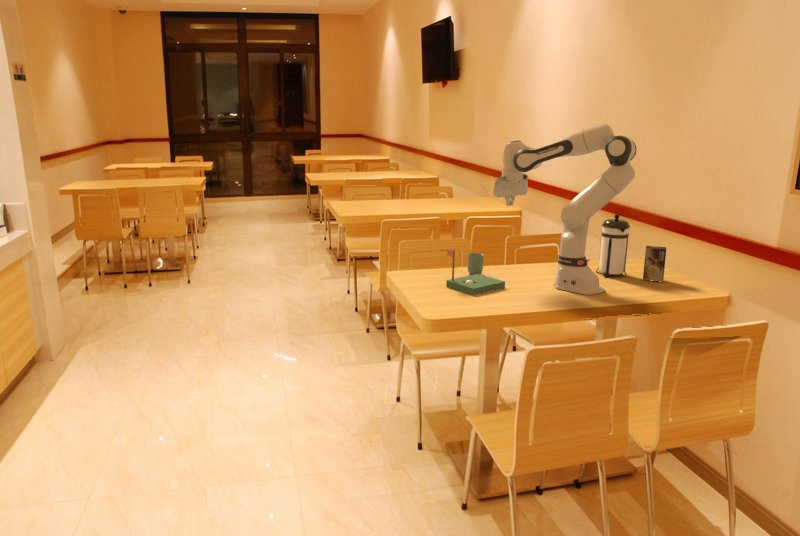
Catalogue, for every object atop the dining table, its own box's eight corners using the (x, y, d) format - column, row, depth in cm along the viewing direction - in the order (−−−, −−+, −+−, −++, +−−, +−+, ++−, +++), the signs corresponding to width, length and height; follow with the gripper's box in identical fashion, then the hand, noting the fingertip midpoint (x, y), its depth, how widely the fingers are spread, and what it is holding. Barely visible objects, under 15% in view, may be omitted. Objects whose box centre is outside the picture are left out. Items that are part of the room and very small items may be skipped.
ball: (469, 290, 273) (475, 288, 276) (468, 282, 272) (475, 280, 274) (462, 288, 276) (469, 286, 279) (462, 280, 275) (469, 277, 277)
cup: (482, 272, 304) (483, 253, 301) (483, 276, 296) (484, 256, 294) (466, 272, 304) (467, 252, 302) (466, 276, 297) (467, 256, 295)
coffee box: (663, 279, 295) (666, 246, 291) (663, 283, 290) (667, 249, 286) (642, 277, 299) (646, 245, 295) (642, 280, 293) (645, 247, 289)
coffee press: (632, 274, 305) (639, 214, 297) (619, 280, 293) (626, 217, 286) (599, 268, 316) (604, 210, 308) (585, 274, 304) (590, 213, 297)
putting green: (504, 287, 278) (506, 251, 274) (472, 295, 266) (474, 256, 262) (474, 278, 292) (475, 243, 288) (442, 285, 280) (443, 248, 276)
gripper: (500, 177, 279) (499, 208, 282) (530, 175, 291) (528, 204, 295) (490, 176, 284) (489, 206, 287) (520, 174, 296) (518, 203, 299)
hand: (509, 205), depth 291 cm, fingers closed
